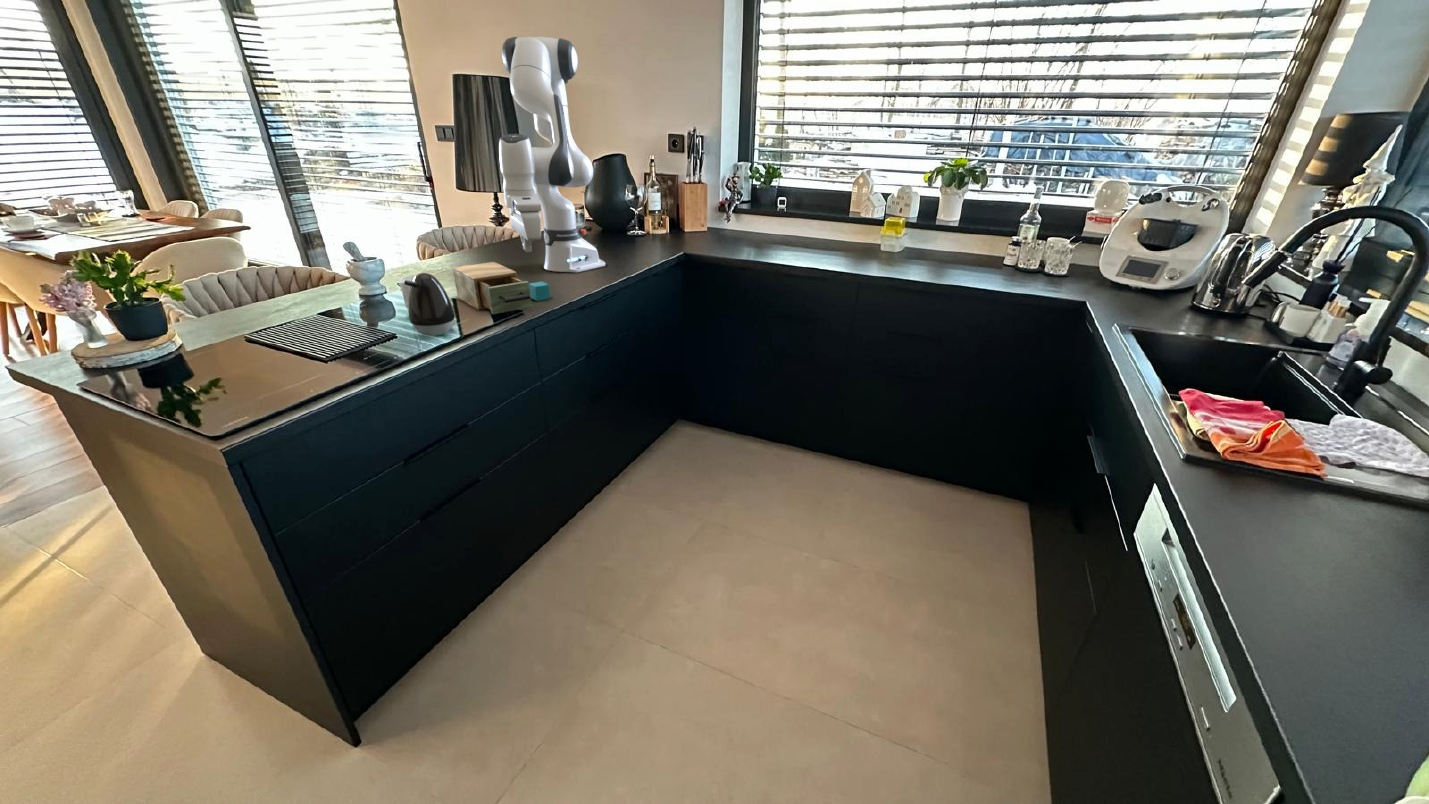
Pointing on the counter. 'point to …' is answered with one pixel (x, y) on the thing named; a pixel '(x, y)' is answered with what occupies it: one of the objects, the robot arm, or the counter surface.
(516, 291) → the green drawer
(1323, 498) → the counter surface
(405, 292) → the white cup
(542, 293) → the teal cube
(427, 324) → the pump dispenser
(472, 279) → the wooden drawer box
